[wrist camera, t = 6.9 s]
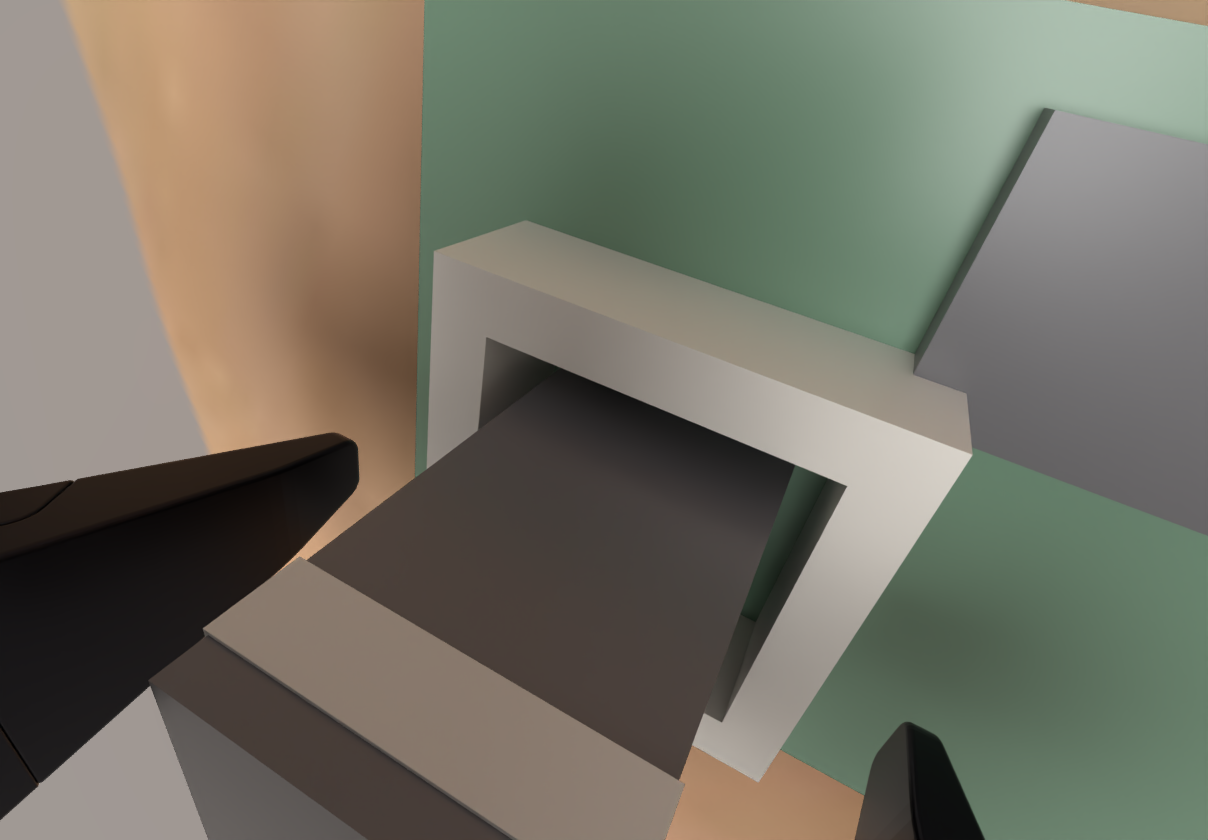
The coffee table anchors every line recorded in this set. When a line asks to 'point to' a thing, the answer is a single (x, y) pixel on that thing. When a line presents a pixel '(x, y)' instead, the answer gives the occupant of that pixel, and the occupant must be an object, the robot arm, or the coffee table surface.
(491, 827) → the black plug
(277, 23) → the coffee table surface
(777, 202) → the circuit board
